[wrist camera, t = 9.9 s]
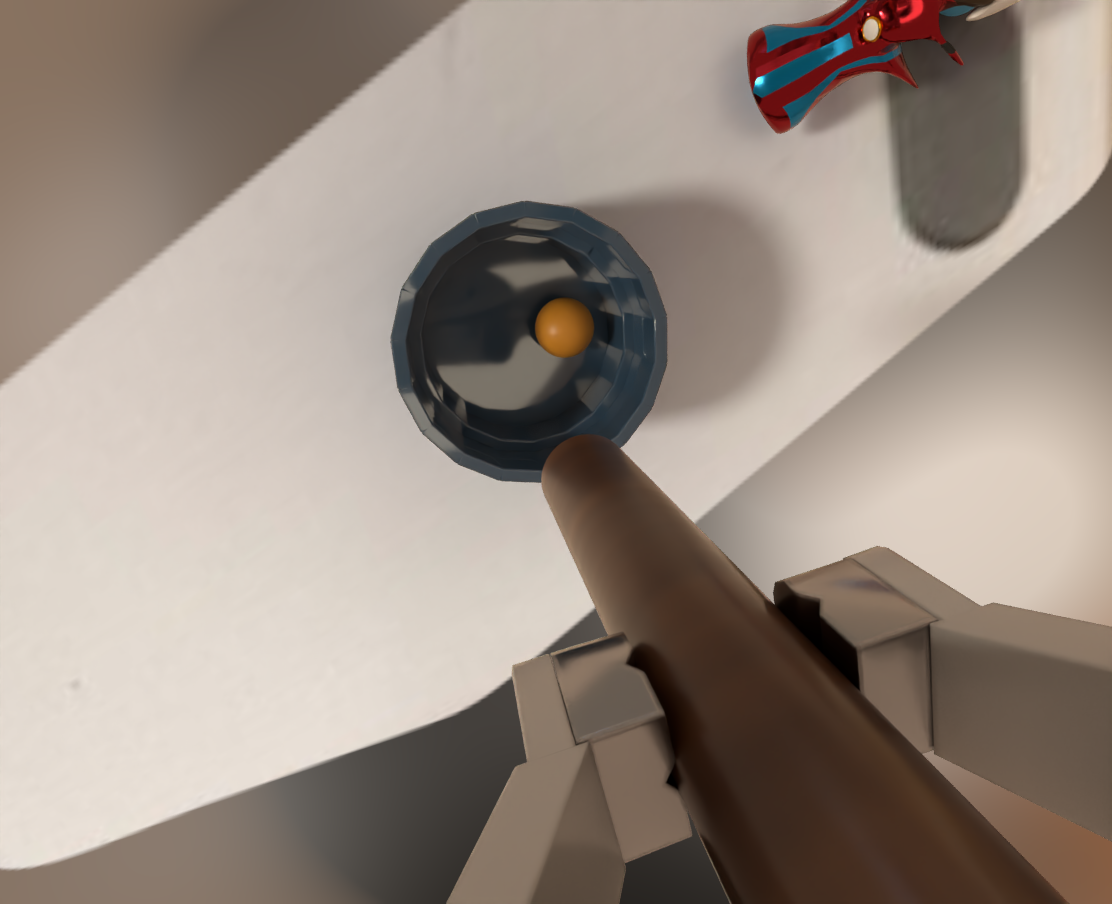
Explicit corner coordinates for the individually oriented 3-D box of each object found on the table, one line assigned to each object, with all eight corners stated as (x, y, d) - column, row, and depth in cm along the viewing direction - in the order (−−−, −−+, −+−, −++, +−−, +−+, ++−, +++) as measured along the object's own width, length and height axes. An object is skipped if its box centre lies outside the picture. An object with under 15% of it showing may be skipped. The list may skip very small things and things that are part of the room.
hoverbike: (702, 41, 24) (776, -22, 19) (964, -94, 24) (1110, -194, 19) (743, 169, 26) (822, 145, 20) (987, 42, 26) (1127, -14, 21)
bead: (524, 304, 25) (533, 308, 23) (579, 289, 25) (593, 292, 23) (538, 359, 26) (548, 368, 24) (591, 344, 26) (606, 352, 24)
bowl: (368, 247, 24) (348, 244, 19) (600, 190, 25) (642, 171, 20) (439, 466, 27) (439, 514, 22) (643, 408, 28) (689, 440, 23)
